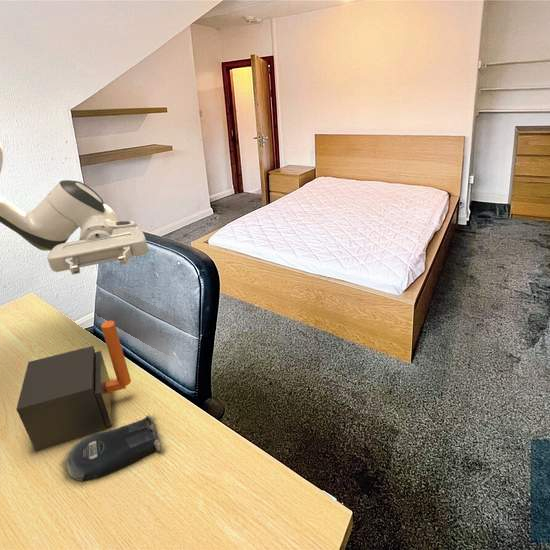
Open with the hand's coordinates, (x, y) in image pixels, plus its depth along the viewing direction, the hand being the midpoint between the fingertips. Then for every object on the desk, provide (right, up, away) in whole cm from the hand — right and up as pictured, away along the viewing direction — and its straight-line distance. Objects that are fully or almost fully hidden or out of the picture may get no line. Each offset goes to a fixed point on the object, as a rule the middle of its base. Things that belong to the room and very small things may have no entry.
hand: (99, 265), depth 84 cm
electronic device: (+8, -34, -11) cm, 37 cm away
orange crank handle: (0, -28, -2) cm, 28 cm away
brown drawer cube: (-4, -30, -3) cm, 31 cm away
